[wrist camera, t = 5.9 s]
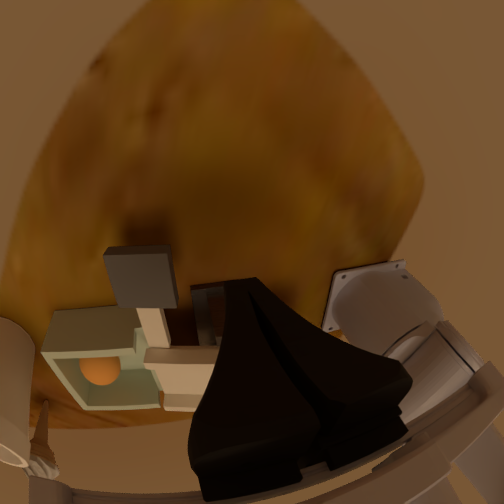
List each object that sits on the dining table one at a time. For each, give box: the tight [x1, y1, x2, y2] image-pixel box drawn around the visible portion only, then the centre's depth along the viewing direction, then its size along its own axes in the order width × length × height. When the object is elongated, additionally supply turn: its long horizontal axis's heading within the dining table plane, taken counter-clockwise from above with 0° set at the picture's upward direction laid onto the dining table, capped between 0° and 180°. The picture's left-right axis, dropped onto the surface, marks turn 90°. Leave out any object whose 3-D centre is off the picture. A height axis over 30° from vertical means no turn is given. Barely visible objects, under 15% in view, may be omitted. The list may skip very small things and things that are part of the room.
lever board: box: [103, 245, 220, 412], centre depth 20 cm, size 14×15×5 cm
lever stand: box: [190, 281, 226, 347], centre depth 24 cm, size 4×11×6 cm, turn 179°
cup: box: [41, 305, 163, 410], centre depth 21 cm, size 9×9×5 cm
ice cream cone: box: [22, 400, 60, 480], centre depth 20 cm, size 6×6×15 cm
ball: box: [79, 356, 121, 385], centre depth 21 cm, size 4×4×4 cm
